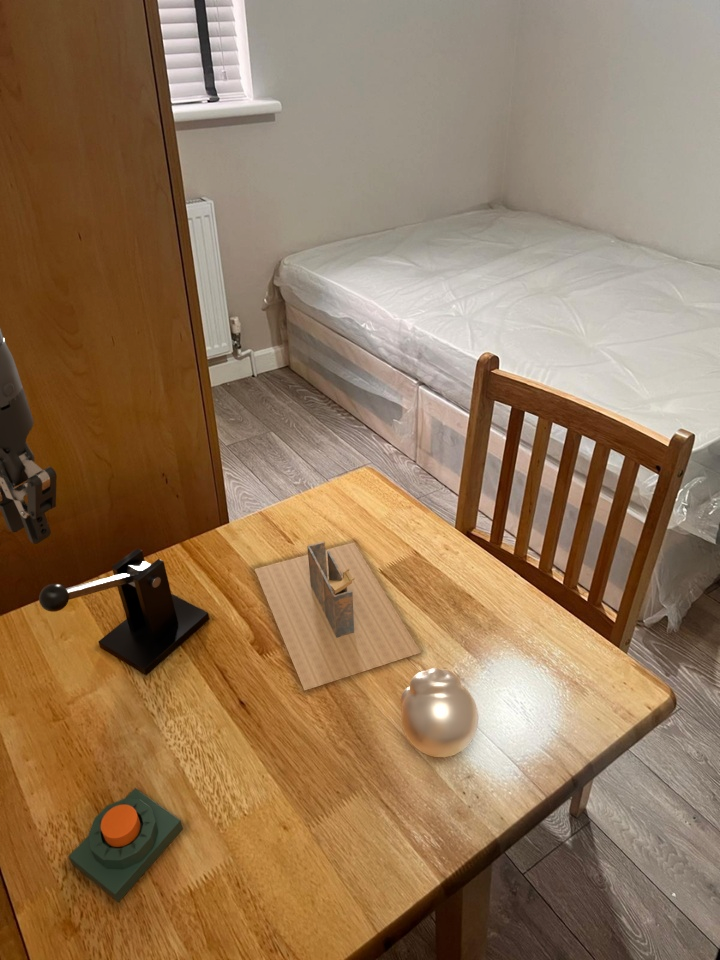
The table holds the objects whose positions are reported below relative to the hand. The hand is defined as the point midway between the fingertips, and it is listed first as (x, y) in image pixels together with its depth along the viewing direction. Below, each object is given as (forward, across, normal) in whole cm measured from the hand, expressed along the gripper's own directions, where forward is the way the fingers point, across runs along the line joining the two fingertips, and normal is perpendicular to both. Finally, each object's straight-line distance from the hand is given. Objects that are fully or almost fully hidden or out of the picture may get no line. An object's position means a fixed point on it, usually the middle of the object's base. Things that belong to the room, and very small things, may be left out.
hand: (30, 532), depth 79 cm
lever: (+14, 0, +5) cm, 15 cm away
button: (+23, +20, -11) cm, 32 cm away
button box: (+26, +20, -11) cm, 35 cm away
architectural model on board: (+26, +18, +29) cm, 43 cm away
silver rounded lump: (+26, +41, +18) cm, 52 cm away
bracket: (+26, 0, +12) cm, 29 cm away
